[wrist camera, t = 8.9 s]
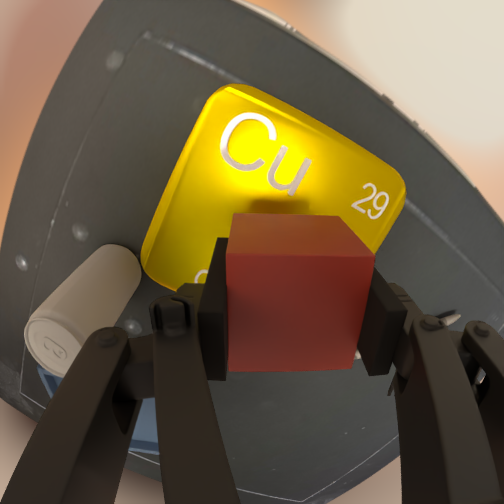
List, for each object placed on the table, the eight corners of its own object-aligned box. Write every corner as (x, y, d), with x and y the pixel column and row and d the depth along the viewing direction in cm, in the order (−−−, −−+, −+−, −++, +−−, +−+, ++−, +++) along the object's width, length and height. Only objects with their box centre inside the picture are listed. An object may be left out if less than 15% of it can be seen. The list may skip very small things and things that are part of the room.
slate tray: (77, 427, 36) (72, 438, 34) (43, 357, 31) (36, 367, 29) (180, 444, 36) (178, 457, 35) (164, 373, 31) (160, 387, 29)
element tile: (147, 251, 26) (129, 275, 22) (226, 81, 21) (220, 70, 17) (303, 320, 29) (311, 353, 25) (393, 175, 24) (421, 186, 20)
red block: (233, 306, 17) (228, 371, 12) (233, 213, 15) (225, 253, 10) (327, 307, 17) (351, 369, 12) (339, 215, 15) (376, 255, 10)
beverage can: (129, 300, 28) (77, 392, 17) (86, 271, 27) (17, 350, 16) (152, 261, 27) (99, 350, 16) (107, 230, 26) (30, 300, 14)
